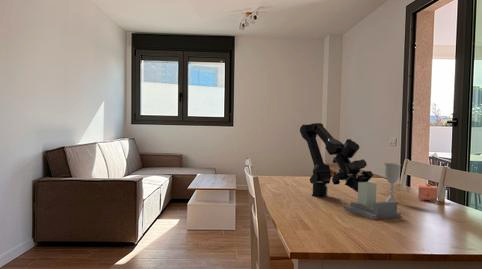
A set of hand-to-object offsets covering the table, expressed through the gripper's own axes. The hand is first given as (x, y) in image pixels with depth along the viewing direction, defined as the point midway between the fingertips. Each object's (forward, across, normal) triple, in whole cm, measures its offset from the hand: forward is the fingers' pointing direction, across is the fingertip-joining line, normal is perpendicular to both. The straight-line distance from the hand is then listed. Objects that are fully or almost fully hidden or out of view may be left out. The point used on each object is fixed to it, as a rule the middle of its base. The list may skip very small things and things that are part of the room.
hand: (361, 193), depth 142 cm
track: (+9, 0, +1) cm, 9 cm away
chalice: (-1, +25, +11) cm, 27 cm away
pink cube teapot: (+2, +45, +8) cm, 45 cm away
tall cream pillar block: (+6, 0, +2) cm, 6 cm away
